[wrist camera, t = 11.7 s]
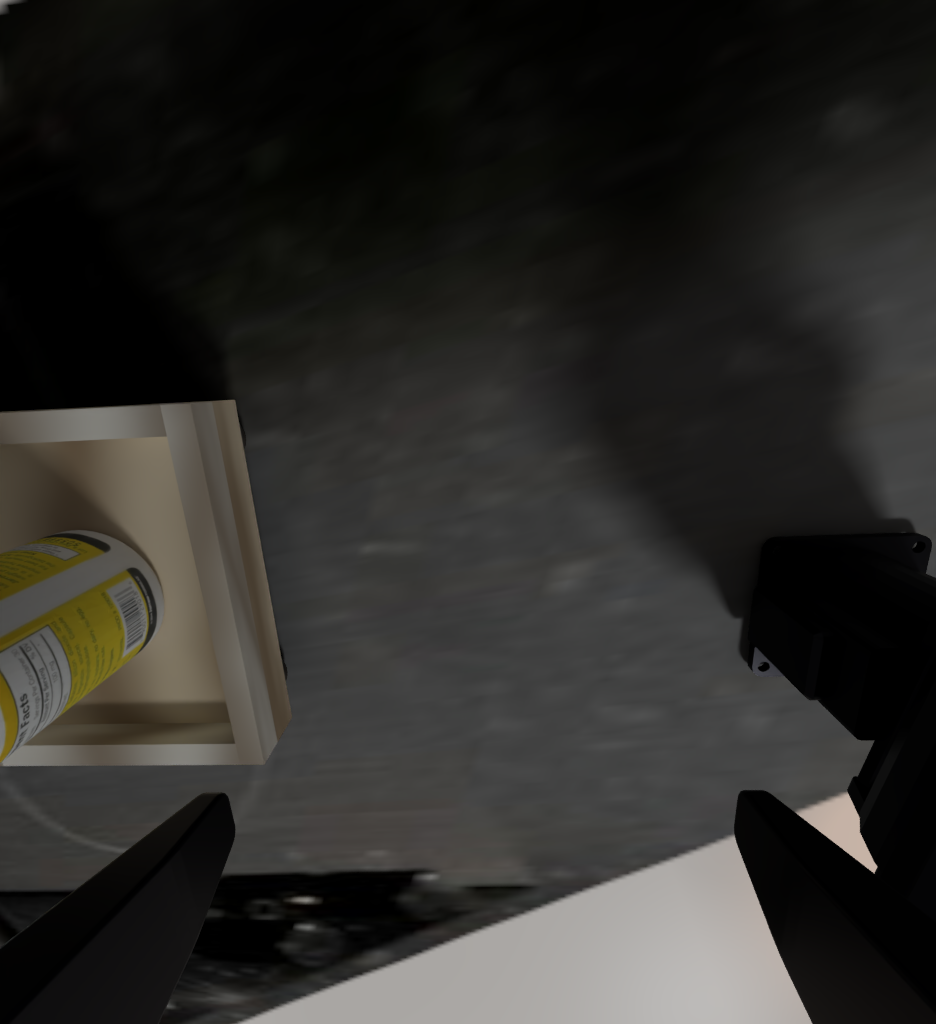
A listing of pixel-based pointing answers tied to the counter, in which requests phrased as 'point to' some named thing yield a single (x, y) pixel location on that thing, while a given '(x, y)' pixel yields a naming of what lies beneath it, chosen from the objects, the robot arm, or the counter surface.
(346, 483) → the counter surface
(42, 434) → the shallow square tray
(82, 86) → the counter surface
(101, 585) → the supplement bottle
